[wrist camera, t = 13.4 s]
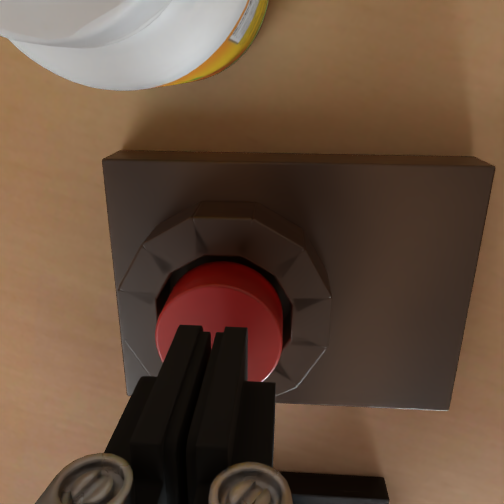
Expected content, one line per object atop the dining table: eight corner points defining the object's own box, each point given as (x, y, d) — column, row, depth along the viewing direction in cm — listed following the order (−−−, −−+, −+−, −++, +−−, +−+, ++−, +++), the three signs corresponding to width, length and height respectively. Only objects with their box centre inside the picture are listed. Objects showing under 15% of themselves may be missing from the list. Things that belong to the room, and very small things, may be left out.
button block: (139, 370, 20) (110, 430, 16) (118, 149, 16) (77, 170, 13) (435, 383, 19) (466, 448, 16) (475, 156, 16) (525, 179, 12)
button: (171, 359, 16) (158, 393, 14) (165, 258, 14) (149, 282, 13) (281, 364, 15) (280, 399, 14) (284, 261, 14) (284, 286, 13)
